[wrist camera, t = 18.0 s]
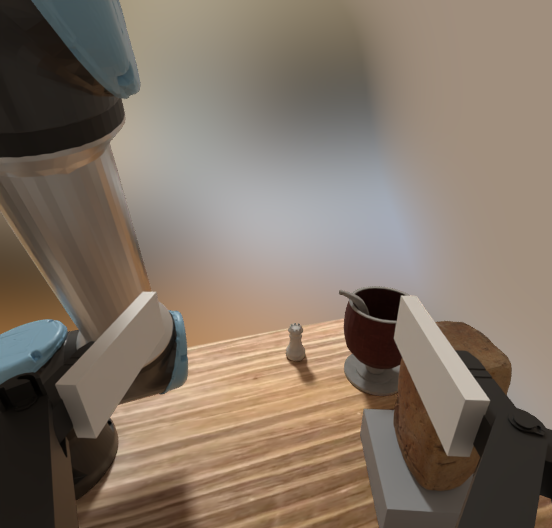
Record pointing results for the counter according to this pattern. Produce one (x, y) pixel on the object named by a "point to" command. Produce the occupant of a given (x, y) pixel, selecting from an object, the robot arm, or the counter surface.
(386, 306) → the mate gourd
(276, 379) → the counter surface
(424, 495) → the grey base block
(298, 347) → the rook chess piece
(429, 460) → the block
